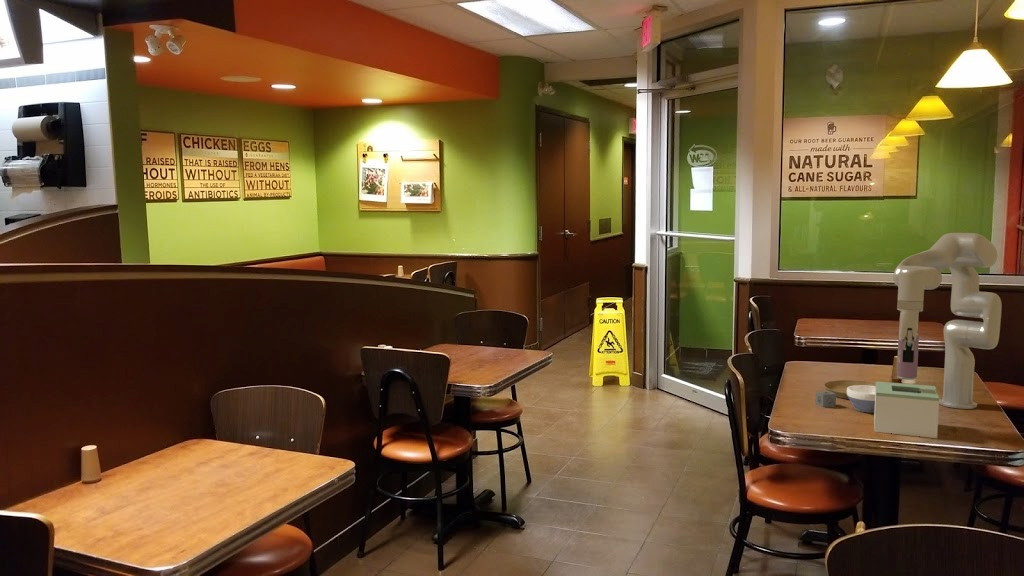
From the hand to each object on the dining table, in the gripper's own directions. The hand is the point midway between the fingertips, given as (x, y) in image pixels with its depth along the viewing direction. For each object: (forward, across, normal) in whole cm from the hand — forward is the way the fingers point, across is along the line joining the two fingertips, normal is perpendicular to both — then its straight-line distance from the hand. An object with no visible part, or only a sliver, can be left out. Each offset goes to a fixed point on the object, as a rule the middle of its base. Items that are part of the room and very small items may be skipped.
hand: (907, 359), depth 256 cm
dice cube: (+23, -21, -25) cm, 40 cm away
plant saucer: (+23, -44, -15) cm, 52 cm away
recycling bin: (+23, 0, 0) cm, 23 cm away
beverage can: (+6, 0, 0) cm, 6 cm away
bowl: (+23, -20, -11) cm, 33 cm away
